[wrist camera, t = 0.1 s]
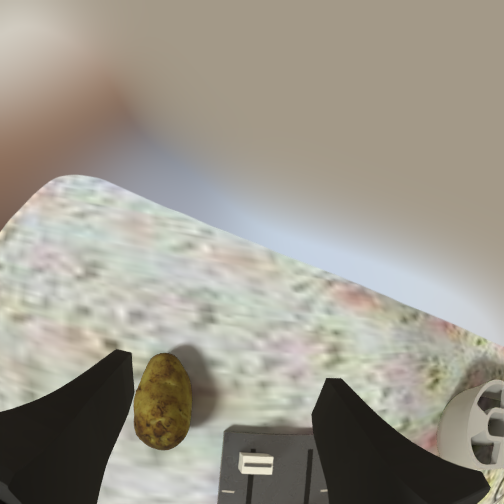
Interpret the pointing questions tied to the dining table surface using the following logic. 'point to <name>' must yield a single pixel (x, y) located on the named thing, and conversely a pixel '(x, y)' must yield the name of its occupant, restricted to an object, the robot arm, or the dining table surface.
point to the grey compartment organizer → (473, 427)
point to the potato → (163, 403)
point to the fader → (255, 463)
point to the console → (283, 473)
